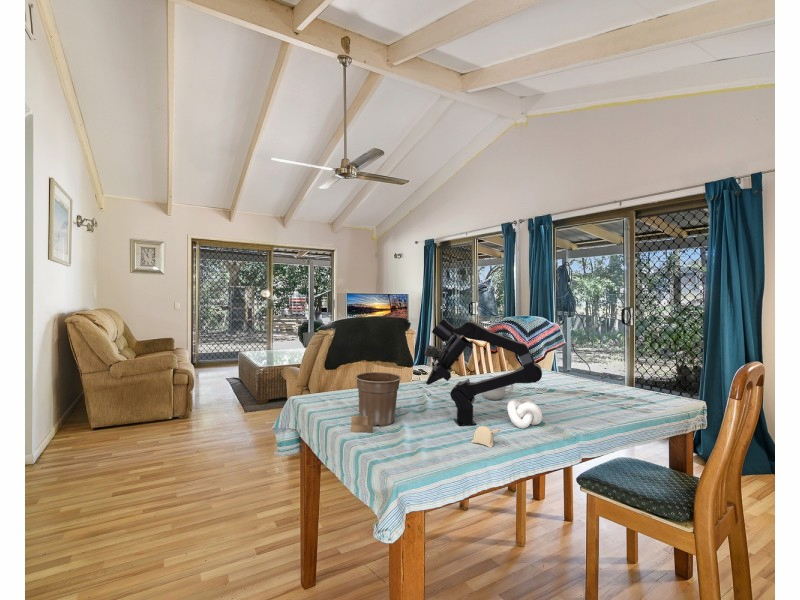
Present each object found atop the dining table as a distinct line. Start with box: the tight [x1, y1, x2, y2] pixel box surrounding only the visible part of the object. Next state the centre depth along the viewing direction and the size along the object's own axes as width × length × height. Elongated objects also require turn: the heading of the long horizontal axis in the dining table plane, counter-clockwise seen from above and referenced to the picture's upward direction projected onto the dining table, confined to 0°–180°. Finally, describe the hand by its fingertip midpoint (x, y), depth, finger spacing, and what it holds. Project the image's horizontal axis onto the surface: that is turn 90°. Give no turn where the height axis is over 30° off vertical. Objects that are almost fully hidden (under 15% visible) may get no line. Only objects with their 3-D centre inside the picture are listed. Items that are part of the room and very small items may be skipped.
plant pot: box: [355, 371, 402, 427], centre depth 146 cm, size 16×16×16 cm
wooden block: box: [350, 408, 374, 434], centre depth 147 cm, size 7×24×6 cm, turn 179°
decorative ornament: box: [471, 425, 501, 448], centre depth 126 cm, size 4×8×5 cm, turn 51°
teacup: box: [480, 378, 514, 401], centre depth 180 cm, size 14×11×8 cm
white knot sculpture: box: [506, 397, 543, 429], centre depth 146 cm, size 11×12×9 cm
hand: (427, 383), depth 149 cm, fingers closed
